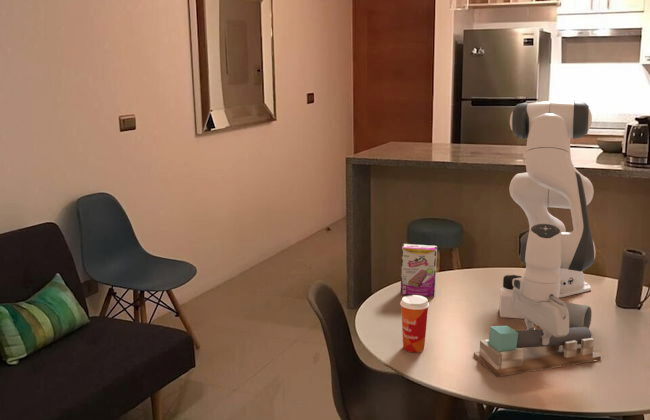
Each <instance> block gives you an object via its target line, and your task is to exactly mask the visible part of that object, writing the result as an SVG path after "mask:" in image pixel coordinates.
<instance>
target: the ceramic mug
mask: <svg viewBox="0 0 650 420" xmlns="http://www.w3.org/2000/svg"><path fill="white" fill-rule="evenodd" d="M564 304H565V306H566V307H567V309H568V313H569V328H574V327H587V328H588V329H589V330H590V327H591V324H592V308H591V306H590V305H587V304H586V305H585V304H578V303H570V302H564Z"/></svg>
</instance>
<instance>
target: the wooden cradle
mask: <svg viewBox="0 0 650 420" xmlns="http://www.w3.org/2000/svg"><path fill="white" fill-rule="evenodd" d="M574 328H575V327H574ZM488 341H489V338H488V339H481V340H479V351H474V352H473V357H474V358H475V359H476V360H477V361H479V362H480V363H481V364H482V365H484V366H485V368H487V369H488V370H489V371H490V372H491V373H493V374H494V375H495V376H496V377H504V376H510V375H515V374H516V375H517V374H524V373H528V372H535V371H539V370H540V371H542V370H547V369H553V368H559V367H564V366H571V365H577V364H583V363H584V362H585V363H589V361H591V362H595V361H594V360H597V361H602V360H601V359H602V356H601V355H600V354H598V353H596V352H595V351H594V344H595V343H594V341H595V339H594V338H592V337H591V338H587V339H581V344H577V341H575V340H574V341H567V342H565V345H560V346H543V347H527V348H516V350H512V351H505V352H500V353H499V352H498V351H497V350H495V349H494V348H493V347H492V346H490V345H489V344H488Z"/></svg>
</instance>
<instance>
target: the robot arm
mask: <svg viewBox="0 0 650 420" xmlns="http://www.w3.org/2000/svg"><path fill="white" fill-rule="evenodd" d="M589 107H590V106H589V105H588V104H587V103H586V102H583V101H579V100H574V101H570V100H569V101H568V100H548V101H547V100H546V101H545V100H544V101H535V102H527V101H526V102H522V103H521V102H520V103H517V104H516V105H515V106H514V107H513V108H512V112H511V113H510V117H509V127H510V130H511V131H512V132H511V133H512V134H513V136H514V137H516V138H518V139H521V140H526V141H527V142H526V149H525V168H526V169H525V170H526V172H520V173H516V174H515V175H514V176H513V177H512V179H511V181H510V183H509V195H510V197H511V199H512V200H513V201H514V202H515V203H516V204H517V205H518V206H519V207H520V208H521V209H522V210H523V212H524V214H525V216H526V218H527V221H528V225H529V226H528V227H529V231H526V232H525V233H524V234H523V235H522V236H521V237H520V254H519V259H520V261H521V262H522V263H523V264H524V265H525V271H524V273H523V276H521V278H515V279H513V281H512V285H513V286H514V288H513V291H512V307H513V309H514V311H516V312H518V313H519V314H521V315H522V316H524V317H525V318H524V322H525V326H526V330H536V327H535V325H536V326H537V327H539V329H543V333H544V335H543V336H542V337H540V343H541V344H543V345H548V344H549V338H550V337H551V336H552V335H553V336H554V337H564V336H567V334H568V333H569V313H568V309H567V307H566V306H565V304H564V303H565V301H564V300H563V299H561V298H566V297H568V296H569V297H570V296H572V295H576V294H577V295H578V294H581V293H585V292H589V291H592V287H591V285H590V284H589V283H588V282H586V281H585V276H584V272H583V271H585V270H587V269H589V268H590V267H591V266H592V265H593V264H594V263H595V259H596V245H595V242H594V239H593V236H592V235H593V234H592V230H591V224H590V218H589V211H588V205H589V204H590V203H591V202H592V200H593V198H594V186H593V183H592V182H591V179H589V178H588V177H587V176H584V175H583V174H582V173H580V172H579V170H578V169H577V168H576V167H575V165H574V164H573V162H572V158H571V157H572V156H571V139H574V140H575V139H580V138H584V137H585V136H586V135H587V134H588V132H589V130H590V129H591V127H592V122H593V117H592V116H593V115H592V111H591V110H590V108H589ZM548 208H557V209H558V208H559V209H566V210H567V209H568V210H570V215H571V221H572V227H573V230H572V231H566V226H565V223H563V221H562V220H560V219H559V218H557V217H555V216H553V215H552V214H551V213H550V212H549V210H548Z"/></svg>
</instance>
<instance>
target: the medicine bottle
mask: <svg viewBox="0 0 650 420" xmlns="http://www.w3.org/2000/svg"><path fill="white" fill-rule="evenodd" d="M521 277H522V276H521V275H519V274H514V273H513V274H512V273H511V274H507V275H504V276H503V278H502V279H503V280H502V281H503V282H502V287H500V288H499V302H498V304H499V306H498V310H499V316H500V318H508V319H522V320H523V319H524V320H525V317H524V316H522V315H521V314H519V313H518V312H516V311H514V309H513V307H512V291H513V288H514V286H513V285H512V281H513V279H515V278H521Z"/></svg>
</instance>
